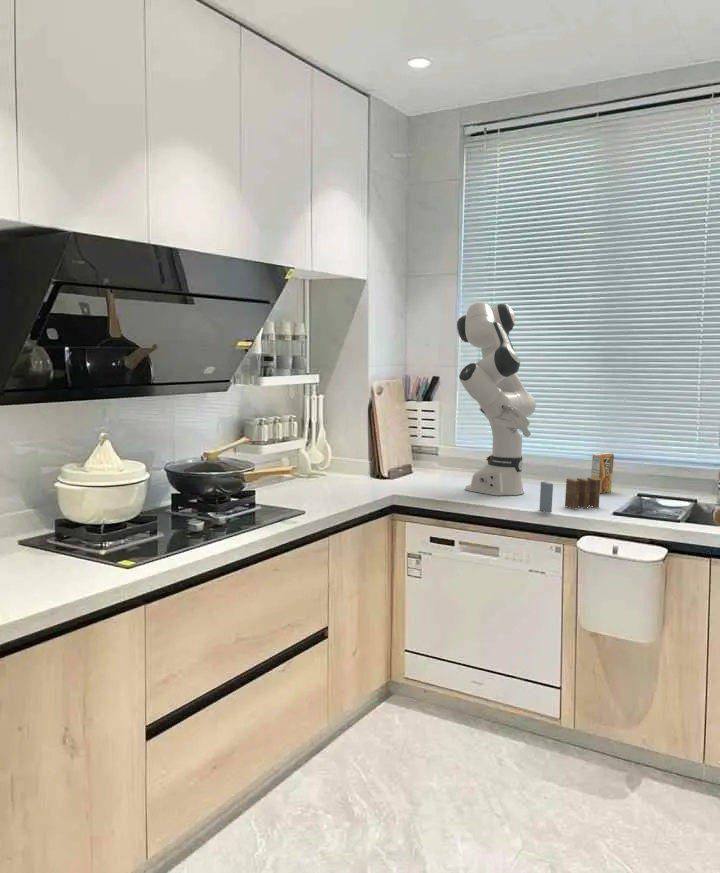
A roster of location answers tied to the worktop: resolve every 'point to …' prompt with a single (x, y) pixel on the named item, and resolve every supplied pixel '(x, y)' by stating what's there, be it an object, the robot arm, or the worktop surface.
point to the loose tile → (546, 496)
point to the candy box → (603, 470)
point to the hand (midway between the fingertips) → (521, 433)
